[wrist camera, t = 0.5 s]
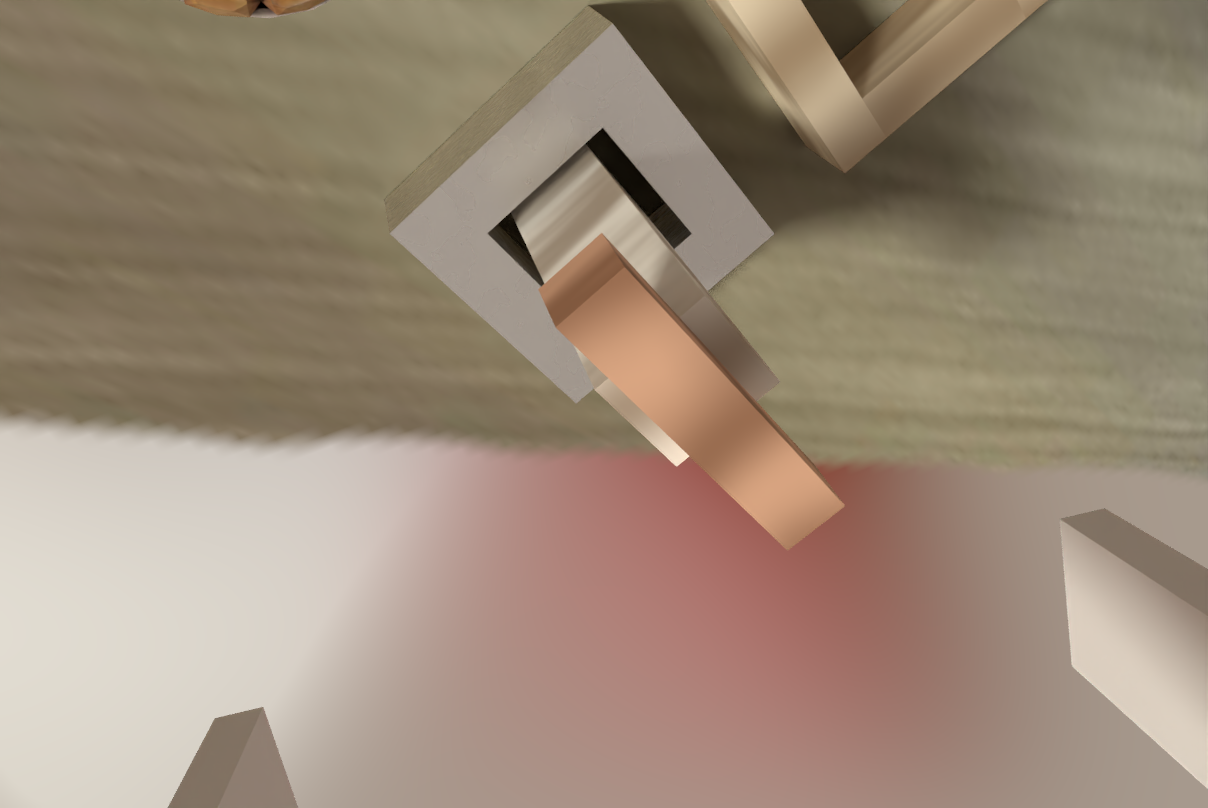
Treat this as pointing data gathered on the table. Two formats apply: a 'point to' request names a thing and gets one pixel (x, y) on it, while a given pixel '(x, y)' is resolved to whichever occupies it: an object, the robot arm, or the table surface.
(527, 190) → the plate
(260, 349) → the table surface
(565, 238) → the t-key
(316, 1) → the mug
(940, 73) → the block
